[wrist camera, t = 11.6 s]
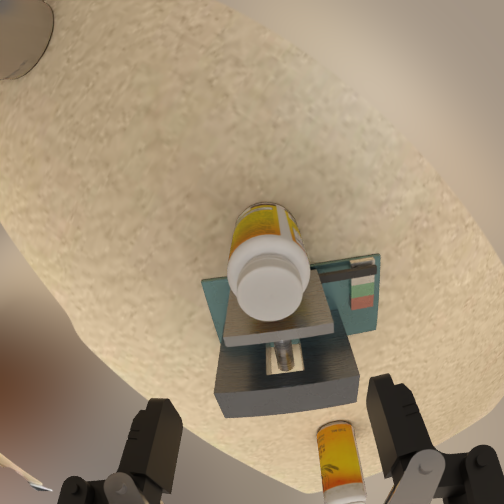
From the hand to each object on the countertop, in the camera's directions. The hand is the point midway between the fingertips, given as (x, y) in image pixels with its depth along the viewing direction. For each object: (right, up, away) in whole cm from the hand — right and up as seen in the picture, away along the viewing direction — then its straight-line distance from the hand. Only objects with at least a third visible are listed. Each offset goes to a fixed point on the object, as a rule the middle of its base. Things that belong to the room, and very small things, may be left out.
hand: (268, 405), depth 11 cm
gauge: (+4, 0, +20) cm, 20 cm away
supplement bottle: (+1, +8, +16) cm, 18 cm away
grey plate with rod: (+5, +1, +19) cm, 19 cm away
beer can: (+13, -23, +31) cm, 40 cm away
